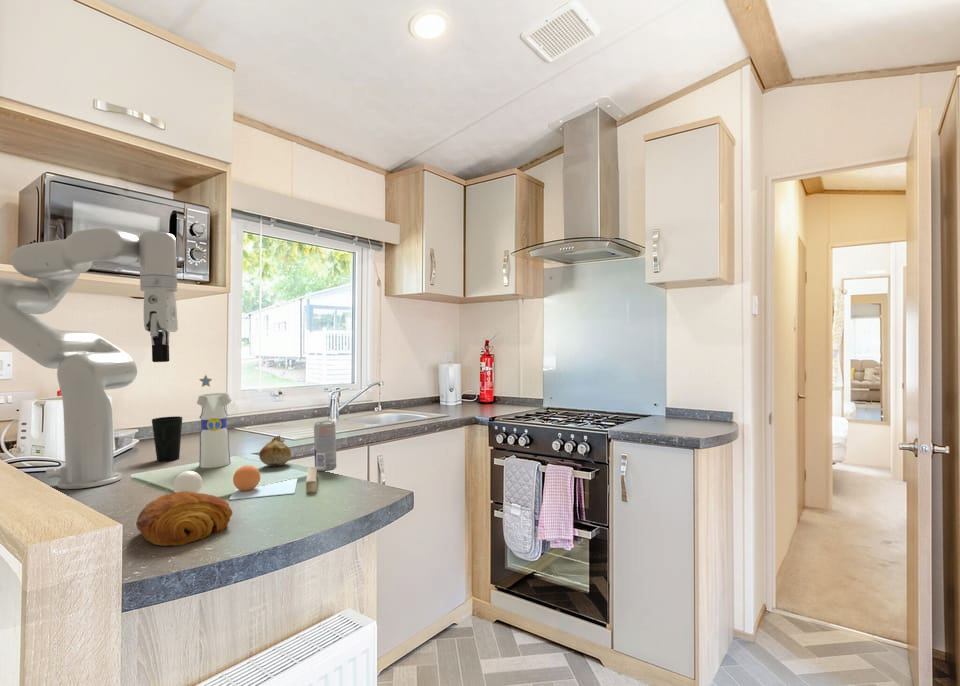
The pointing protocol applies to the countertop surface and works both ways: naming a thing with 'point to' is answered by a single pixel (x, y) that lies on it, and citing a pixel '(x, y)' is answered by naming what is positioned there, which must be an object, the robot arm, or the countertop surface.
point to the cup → (167, 437)
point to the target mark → (267, 490)
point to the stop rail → (311, 480)
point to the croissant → (183, 518)
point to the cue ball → (187, 482)
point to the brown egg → (246, 478)
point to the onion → (275, 452)
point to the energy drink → (325, 445)
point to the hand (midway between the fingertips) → (160, 361)
